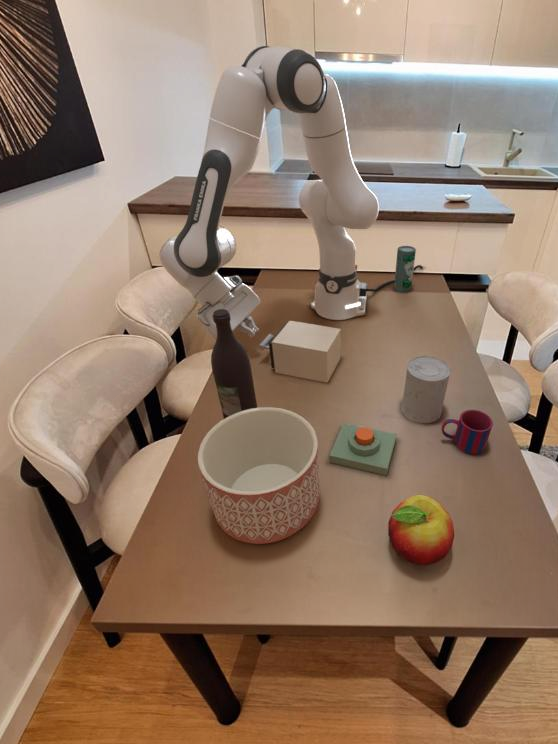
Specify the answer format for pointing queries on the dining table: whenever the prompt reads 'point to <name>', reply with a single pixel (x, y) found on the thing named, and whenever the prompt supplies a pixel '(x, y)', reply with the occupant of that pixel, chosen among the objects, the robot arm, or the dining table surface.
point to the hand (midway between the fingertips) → (255, 333)
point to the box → (363, 450)
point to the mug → (471, 431)
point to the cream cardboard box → (307, 351)
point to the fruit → (421, 530)
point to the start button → (364, 436)
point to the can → (404, 268)
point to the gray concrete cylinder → (425, 388)
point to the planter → (261, 473)
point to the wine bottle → (231, 369)
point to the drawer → (270, 345)
